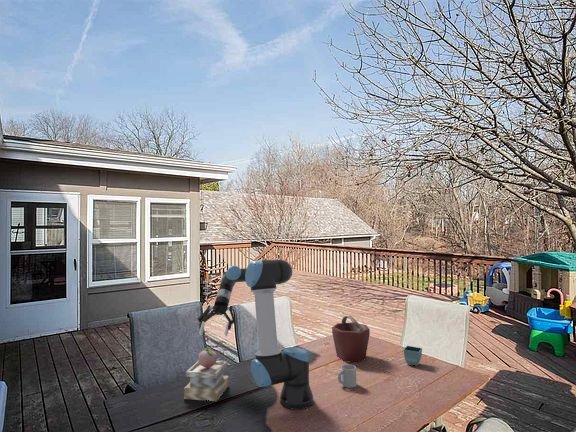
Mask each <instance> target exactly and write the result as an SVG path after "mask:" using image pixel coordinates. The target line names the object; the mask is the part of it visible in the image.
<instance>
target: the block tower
mask: <svg viewBox="0 0 576 432" xmlns="http://www.w3.org/2000/svg"><path fill="white" fill-rule="evenodd" d="M227 366H228V361H226V360H225V361H224V360H223V361H222V360H220V361H219V360H216V362H215V364H214V365H213V366H212V367H210V368H208V369H207V368H205V367H203V366H201V365H200V364H199V361H198V360H197V361H196V362H195V363H193V365H192V366H191V367H189V368H188V369H187V370H186V371H185V377H187V378H188V377H189V383H187V385H186V386H184V387H183V399H184V400H194V401H195V400H196V401H206V400H207V401H208V400H209V401H208V402H218V401H219V399H220V398H221V397H220V396H222V395H223V394H224V393H225V392H226V390H227V388H228V387H229V375H224V370H225V369H226V368H227ZM223 392H224V393H223ZM217 400H218V401H217Z"/></svg>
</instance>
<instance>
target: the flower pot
mask: <svg viewBox="0 0 576 432" xmlns="http://www.w3.org/2000/svg"><path fill="white" fill-rule="evenodd" d="M422 351H423V348H422V347H418V346H413V345H412V346H411V345H406V346H405V347H404V348H403V355H404V356H403V357H404V360H405V363H406V364H407V365H408V364H409V366H413V365H415V366H414V367H417V366H418V365H419V364H420V362H421V359H422V355H423V353H422Z"/></svg>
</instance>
